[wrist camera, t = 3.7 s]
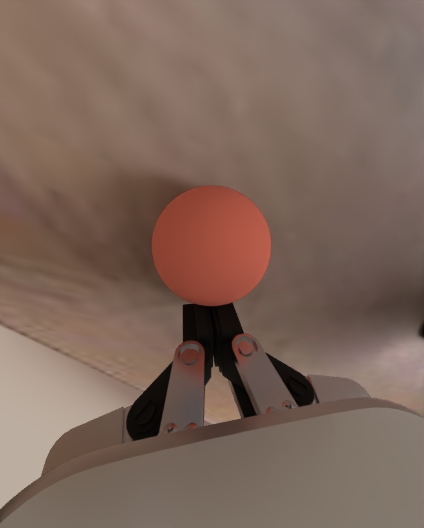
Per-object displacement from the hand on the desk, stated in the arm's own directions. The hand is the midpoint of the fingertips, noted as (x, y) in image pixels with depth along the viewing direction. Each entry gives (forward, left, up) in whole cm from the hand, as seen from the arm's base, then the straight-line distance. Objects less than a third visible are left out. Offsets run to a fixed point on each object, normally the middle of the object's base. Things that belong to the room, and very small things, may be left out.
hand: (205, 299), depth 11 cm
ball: (0, -4, +1) cm, 5 cm away
